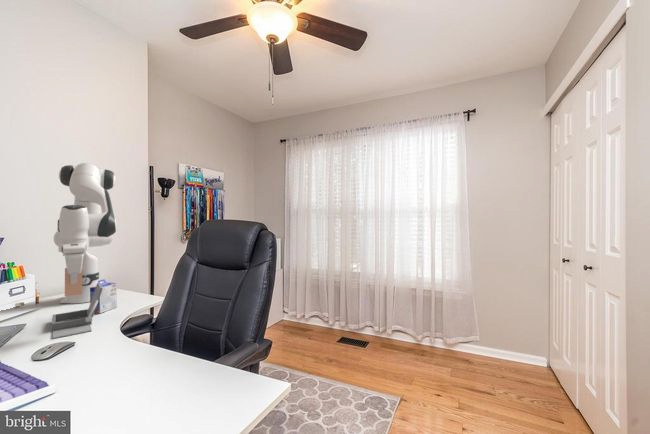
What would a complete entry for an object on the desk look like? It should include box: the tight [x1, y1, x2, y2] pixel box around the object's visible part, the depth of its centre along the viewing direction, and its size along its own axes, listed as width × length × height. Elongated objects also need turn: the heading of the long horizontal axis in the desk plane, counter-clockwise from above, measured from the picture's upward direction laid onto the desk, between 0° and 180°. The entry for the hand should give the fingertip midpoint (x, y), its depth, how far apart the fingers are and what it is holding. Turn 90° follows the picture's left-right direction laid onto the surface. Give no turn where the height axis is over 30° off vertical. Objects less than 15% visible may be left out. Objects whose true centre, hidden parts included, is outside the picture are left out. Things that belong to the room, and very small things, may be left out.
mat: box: [52, 324, 92, 340], centre depth 110 cm, size 8×11×1 cm
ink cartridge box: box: [89, 279, 118, 315], centre depth 135 cm, size 10×6×14 cm, turn 174°
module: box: [64, 267, 82, 297], centre depth 110 cm, size 5×5×11 cm
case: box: [51, 282, 103, 333], centre depth 119 cm, size 16×16×15 cm
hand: (73, 282), depth 110 cm, fingers closed on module, 5 cm apart
